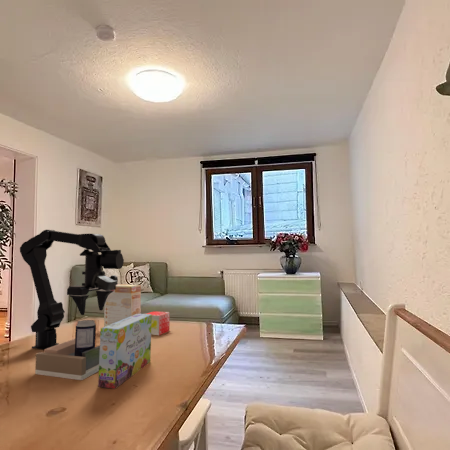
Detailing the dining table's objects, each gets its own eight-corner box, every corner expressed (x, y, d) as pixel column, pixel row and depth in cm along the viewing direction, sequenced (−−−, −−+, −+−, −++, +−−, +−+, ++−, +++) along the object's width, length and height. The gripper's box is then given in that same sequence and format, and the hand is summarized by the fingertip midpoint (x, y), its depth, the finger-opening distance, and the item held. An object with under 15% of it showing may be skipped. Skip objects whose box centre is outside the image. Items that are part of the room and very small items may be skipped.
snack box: (117, 389, 85) (118, 328, 86) (97, 388, 86) (98, 327, 87) (152, 362, 105) (152, 313, 106) (135, 360, 107) (136, 312, 108)
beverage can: (98, 360, 103) (100, 320, 104) (83, 365, 98) (85, 323, 99) (85, 358, 105) (86, 319, 107) (69, 363, 100) (71, 322, 102)
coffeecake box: (141, 329, 149) (141, 284, 150) (130, 332, 142) (131, 286, 144) (114, 326, 155) (115, 283, 156) (103, 329, 148) (104, 284, 150)
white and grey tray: (35, 373, 96) (35, 353, 96) (80, 354, 113) (80, 337, 113) (81, 380, 91) (81, 358, 91) (121, 359, 108) (121, 341, 108)
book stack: (43, 367, 98) (43, 349, 98) (75, 353, 110) (76, 338, 110) (55, 368, 96) (56, 350, 97) (87, 355, 109) (87, 339, 109)
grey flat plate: (81, 370, 94) (82, 352, 95) (108, 357, 106) (109, 341, 106) (84, 371, 94) (85, 352, 95) (111, 357, 106) (111, 341, 106)
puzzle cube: (143, 333, 141) (143, 314, 142) (154, 329, 148) (154, 311, 149) (159, 335, 138) (159, 315, 139) (169, 331, 145) (169, 312, 146)
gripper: (93, 270, 110) (91, 319, 108) (128, 267, 127) (127, 309, 126) (66, 269, 113) (64, 316, 112) (104, 267, 131) (102, 307, 130)
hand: (92, 312), depth 120 cm, fingers open, 9 cm apart
